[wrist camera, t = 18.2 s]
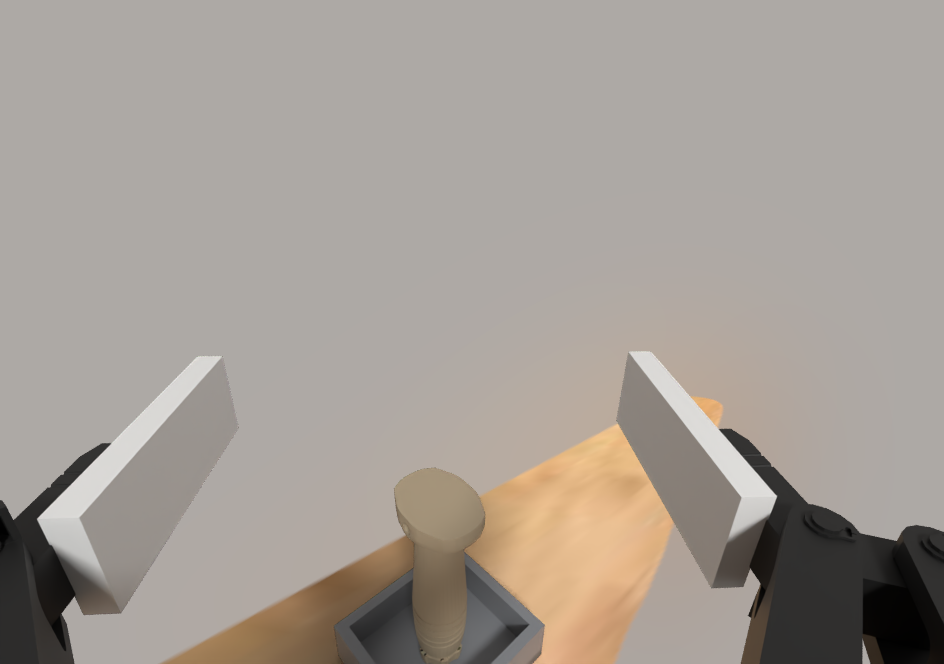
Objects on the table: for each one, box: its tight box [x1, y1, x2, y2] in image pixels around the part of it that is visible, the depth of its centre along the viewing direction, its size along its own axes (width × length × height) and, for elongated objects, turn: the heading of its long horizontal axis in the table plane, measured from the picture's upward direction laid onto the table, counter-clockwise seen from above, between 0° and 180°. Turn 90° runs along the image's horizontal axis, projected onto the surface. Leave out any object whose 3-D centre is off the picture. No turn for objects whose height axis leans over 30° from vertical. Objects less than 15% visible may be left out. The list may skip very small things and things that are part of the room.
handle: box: [394, 468, 485, 664], centre depth 34 cm, size 5×6×15 cm
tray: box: [334, 552, 545, 664], centre depth 36 cm, size 12×11×4 cm
